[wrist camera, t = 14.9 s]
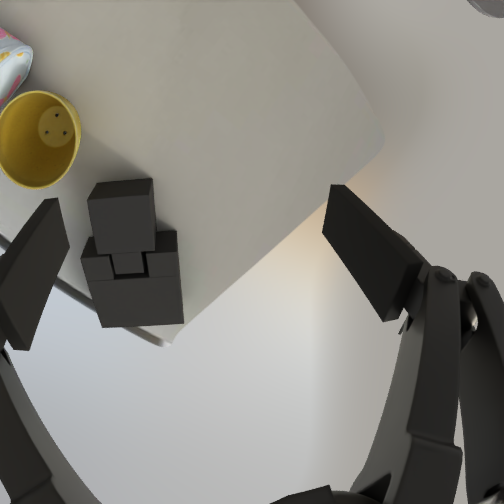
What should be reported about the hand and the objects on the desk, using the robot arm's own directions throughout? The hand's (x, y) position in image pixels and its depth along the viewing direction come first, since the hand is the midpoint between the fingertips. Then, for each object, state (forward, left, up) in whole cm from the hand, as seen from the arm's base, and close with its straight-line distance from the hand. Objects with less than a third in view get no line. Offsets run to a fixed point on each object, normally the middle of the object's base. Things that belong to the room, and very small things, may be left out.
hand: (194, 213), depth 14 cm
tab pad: (+7, +11, -23) cm, 26 cm away
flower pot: (+15, -1, -23) cm, 28 cm away
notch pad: (+7, +20, -23) cm, 31 cm away
